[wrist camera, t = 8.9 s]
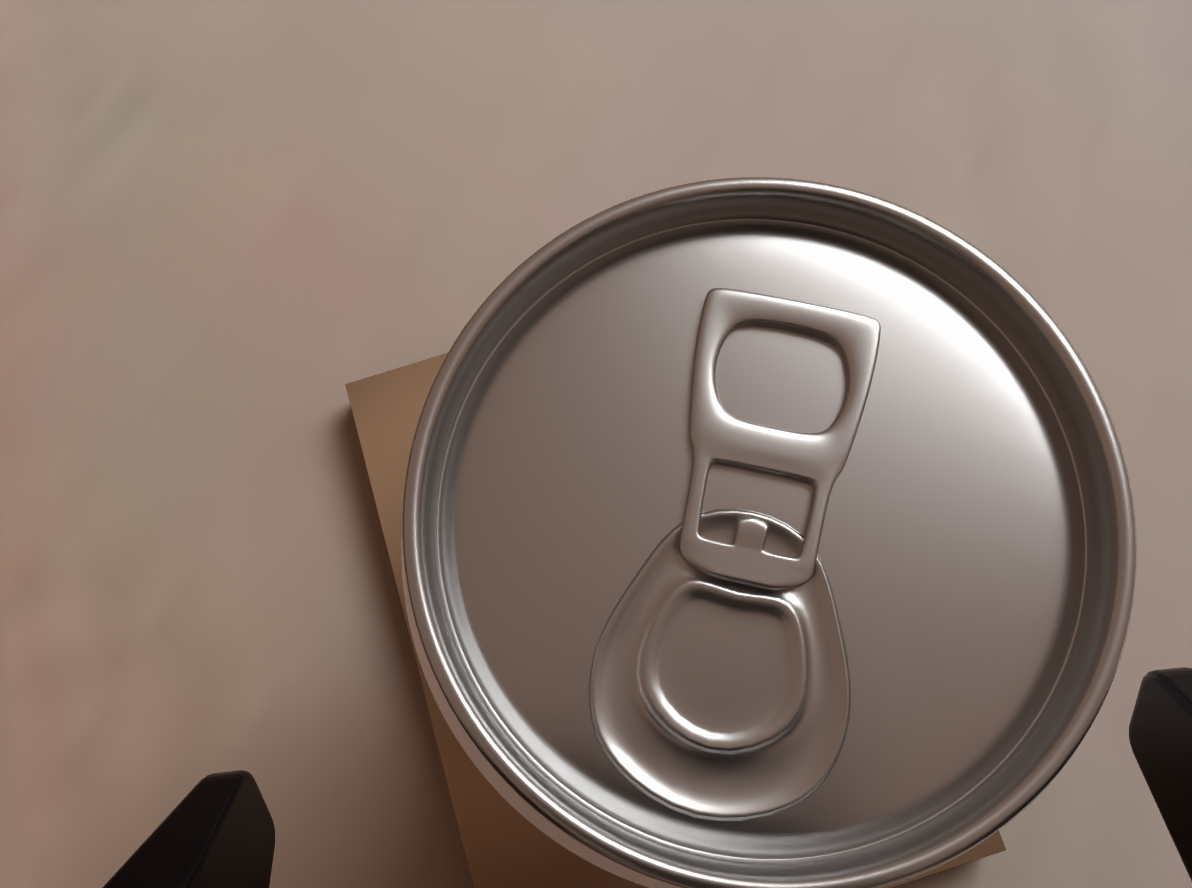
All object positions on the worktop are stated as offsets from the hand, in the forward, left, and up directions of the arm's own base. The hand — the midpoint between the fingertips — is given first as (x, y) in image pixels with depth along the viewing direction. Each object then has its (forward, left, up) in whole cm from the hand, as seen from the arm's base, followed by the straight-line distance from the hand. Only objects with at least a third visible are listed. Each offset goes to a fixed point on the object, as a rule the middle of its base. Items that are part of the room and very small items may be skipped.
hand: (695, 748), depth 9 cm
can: (+2, -1, -9) cm, 10 cm away
